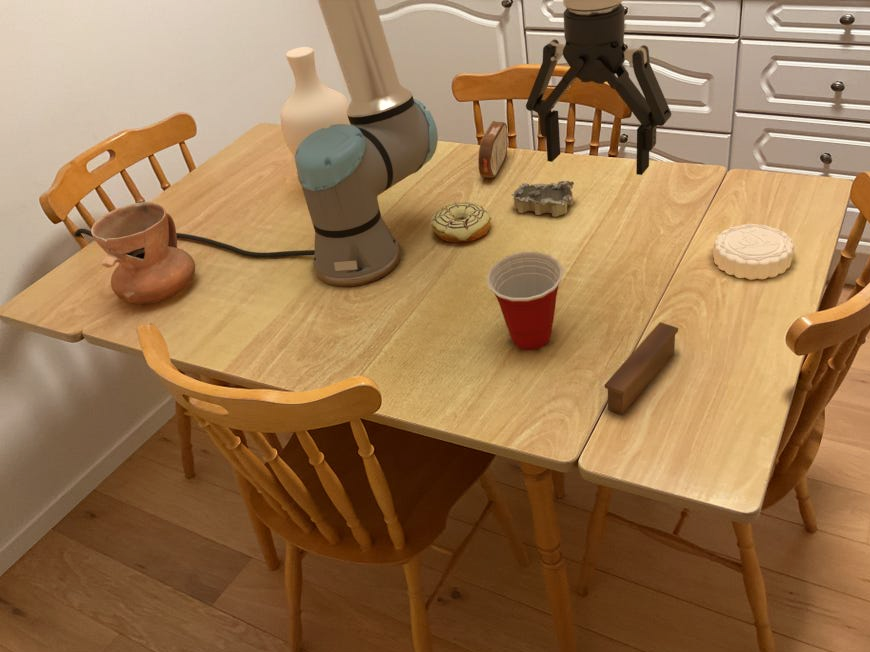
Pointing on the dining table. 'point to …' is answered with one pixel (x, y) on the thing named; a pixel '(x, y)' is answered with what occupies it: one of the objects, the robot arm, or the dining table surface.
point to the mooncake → (753, 251)
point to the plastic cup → (527, 295)
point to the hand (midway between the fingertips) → (597, 164)
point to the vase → (309, 101)
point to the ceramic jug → (143, 253)
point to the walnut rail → (640, 368)
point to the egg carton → (544, 198)
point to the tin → (493, 149)
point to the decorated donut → (461, 222)
